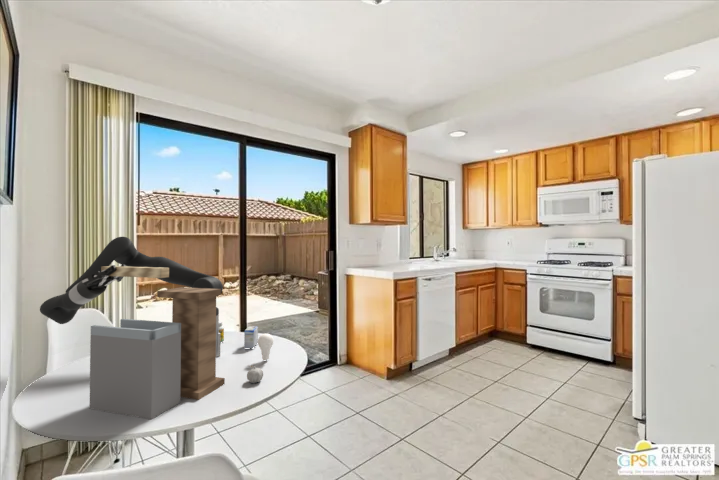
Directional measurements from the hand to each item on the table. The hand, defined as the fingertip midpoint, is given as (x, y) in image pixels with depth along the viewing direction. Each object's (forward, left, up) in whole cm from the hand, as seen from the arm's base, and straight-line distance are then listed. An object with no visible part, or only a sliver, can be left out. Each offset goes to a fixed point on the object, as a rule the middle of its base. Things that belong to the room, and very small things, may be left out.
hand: (120, 267), depth 119 cm
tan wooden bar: (-3, +6, -3) cm, 7 cm away
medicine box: (-51, -3, -39) cm, 64 cm away
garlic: (-33, +36, -39) cm, 62 cm away
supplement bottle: (-43, -20, -39) cm, 61 cm away
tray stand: (0, +27, -39) cm, 48 cm away
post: (-15, +25, -39) cm, 49 cm away
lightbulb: (-46, +20, -39) cm, 63 cm away
